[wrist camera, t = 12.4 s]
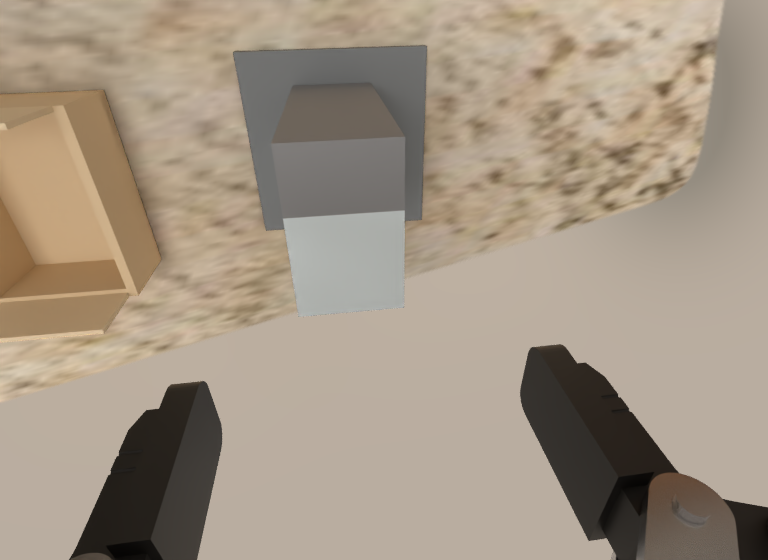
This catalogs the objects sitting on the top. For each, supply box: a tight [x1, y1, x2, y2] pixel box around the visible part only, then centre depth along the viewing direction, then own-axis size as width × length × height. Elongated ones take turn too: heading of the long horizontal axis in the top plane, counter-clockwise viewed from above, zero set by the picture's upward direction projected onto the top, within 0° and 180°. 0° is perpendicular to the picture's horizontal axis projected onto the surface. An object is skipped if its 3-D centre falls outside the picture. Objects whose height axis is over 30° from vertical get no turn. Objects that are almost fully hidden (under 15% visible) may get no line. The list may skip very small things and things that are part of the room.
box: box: [271, 82, 405, 317], centre depth 24 cm, size 8×5×14 cm, turn 1°
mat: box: [233, 45, 427, 231], centre depth 30 cm, size 12×12×1 cm
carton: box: [0, 90, 161, 343], centre depth 26 cm, size 12×9×9 cm
